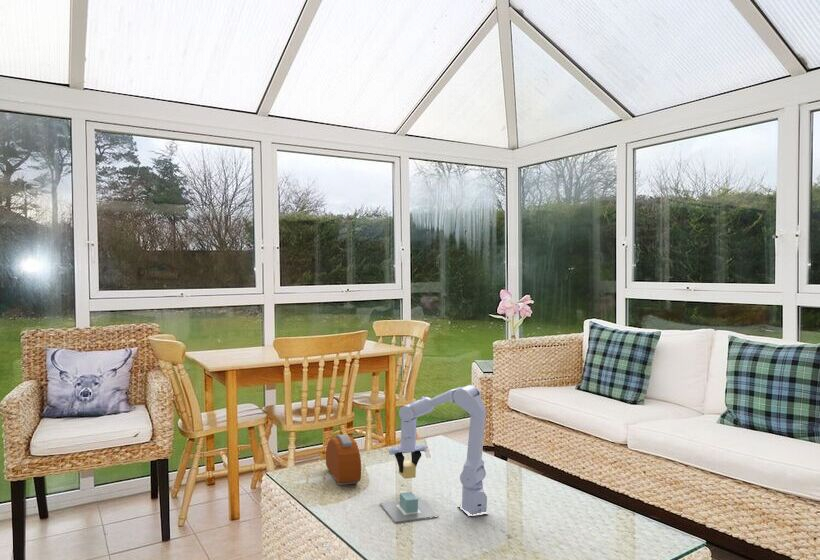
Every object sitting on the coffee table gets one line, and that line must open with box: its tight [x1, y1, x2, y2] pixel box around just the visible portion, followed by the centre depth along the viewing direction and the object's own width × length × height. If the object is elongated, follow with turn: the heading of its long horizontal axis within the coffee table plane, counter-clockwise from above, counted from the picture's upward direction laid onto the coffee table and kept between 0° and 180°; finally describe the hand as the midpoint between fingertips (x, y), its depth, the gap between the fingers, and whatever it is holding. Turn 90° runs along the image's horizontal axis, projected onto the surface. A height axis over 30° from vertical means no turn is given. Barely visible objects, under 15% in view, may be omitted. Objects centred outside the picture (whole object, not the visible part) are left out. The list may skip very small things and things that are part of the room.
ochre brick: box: [398, 459, 417, 480], centre depth 217 cm, size 6×4×4 cm
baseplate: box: [379, 497, 439, 524], centre depth 202 cm, size 16×16×1 cm
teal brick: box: [399, 491, 419, 513], centre depth 202 cm, size 6×4×4 cm
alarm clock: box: [325, 434, 362, 486], centre depth 232 cm, size 23×9×17 cm, turn 22°
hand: (407, 471), depth 217 cm, fingers closed on ochre brick, 4 cm apart
